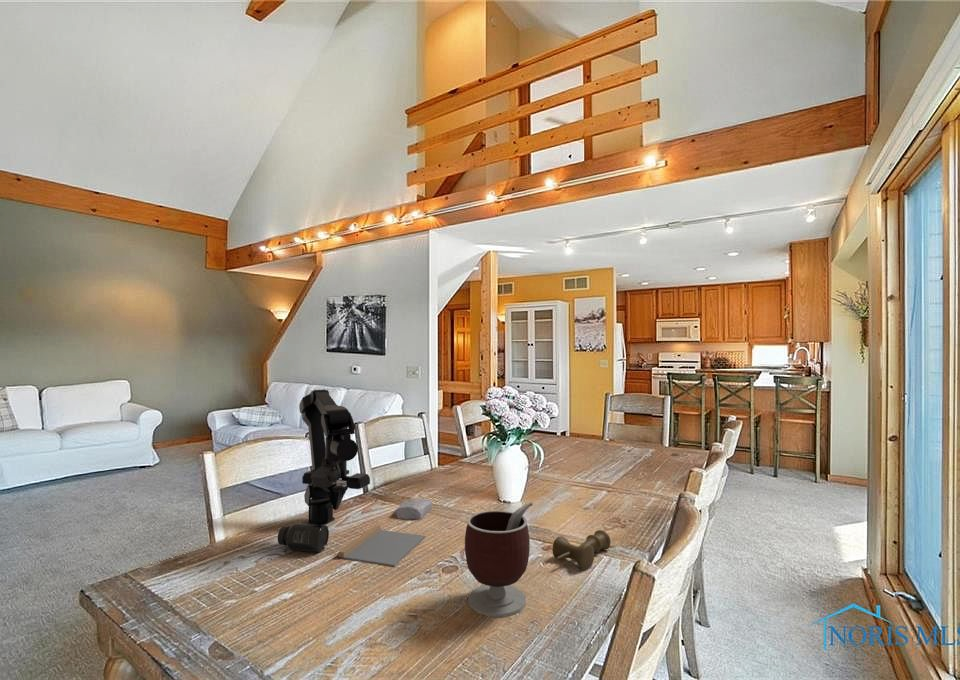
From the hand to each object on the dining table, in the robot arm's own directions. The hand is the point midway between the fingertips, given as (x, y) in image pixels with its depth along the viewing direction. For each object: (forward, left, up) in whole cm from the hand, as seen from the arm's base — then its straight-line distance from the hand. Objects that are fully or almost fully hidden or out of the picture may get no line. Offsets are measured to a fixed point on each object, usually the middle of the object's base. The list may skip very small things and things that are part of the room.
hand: (335, 509), depth 134 cm
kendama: (+67, +9, -9) cm, 68 cm away
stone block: (+11, +27, -9) cm, 30 cm away
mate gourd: (+52, -16, -9) cm, 55 cm away
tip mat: (+15, 0, -9) cm, 17 cm away
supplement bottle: (+1, -7, -5) cm, 9 cm away
